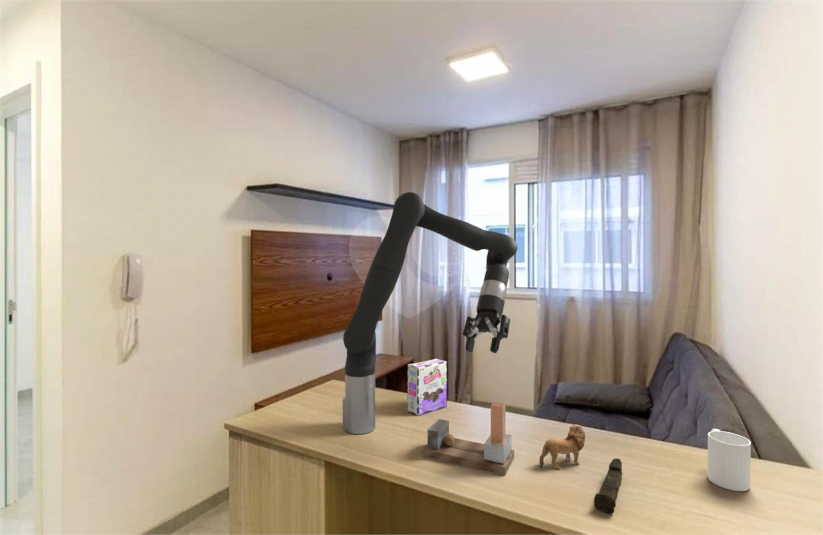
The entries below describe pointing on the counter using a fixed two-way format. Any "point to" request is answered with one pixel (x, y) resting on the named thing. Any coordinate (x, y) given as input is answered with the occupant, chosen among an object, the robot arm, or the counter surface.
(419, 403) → the candy box
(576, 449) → the lion figurine
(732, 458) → the mug
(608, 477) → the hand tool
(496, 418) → the block
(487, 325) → the robot arm
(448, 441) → the hazelnut
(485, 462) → the press base
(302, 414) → the counter surface
